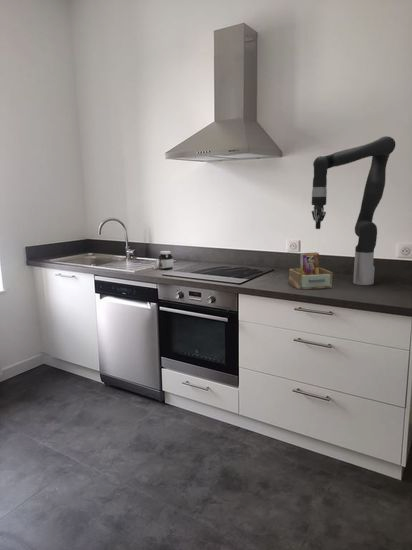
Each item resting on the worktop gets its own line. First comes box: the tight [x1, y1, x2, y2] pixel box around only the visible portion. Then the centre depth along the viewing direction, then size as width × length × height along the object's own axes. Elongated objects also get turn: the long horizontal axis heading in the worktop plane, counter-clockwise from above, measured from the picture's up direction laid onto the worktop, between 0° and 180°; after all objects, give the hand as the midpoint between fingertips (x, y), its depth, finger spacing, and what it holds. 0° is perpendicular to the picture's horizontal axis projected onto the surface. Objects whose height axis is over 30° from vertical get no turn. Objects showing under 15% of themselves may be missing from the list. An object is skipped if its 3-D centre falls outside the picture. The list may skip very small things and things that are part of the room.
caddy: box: [288, 267, 333, 290], centre depth 216 cm, size 18×14×8 cm
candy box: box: [299, 252, 320, 276], centre depth 216 cm, size 9×4×15 cm, turn 98°
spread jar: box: [153, 250, 174, 271], centre depth 268 cm, size 12×11×12 cm
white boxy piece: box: [301, 274, 330, 288], centre depth 214 cm, size 15×15×6 cm
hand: (317, 228), depth 220 cm, fingers closed
